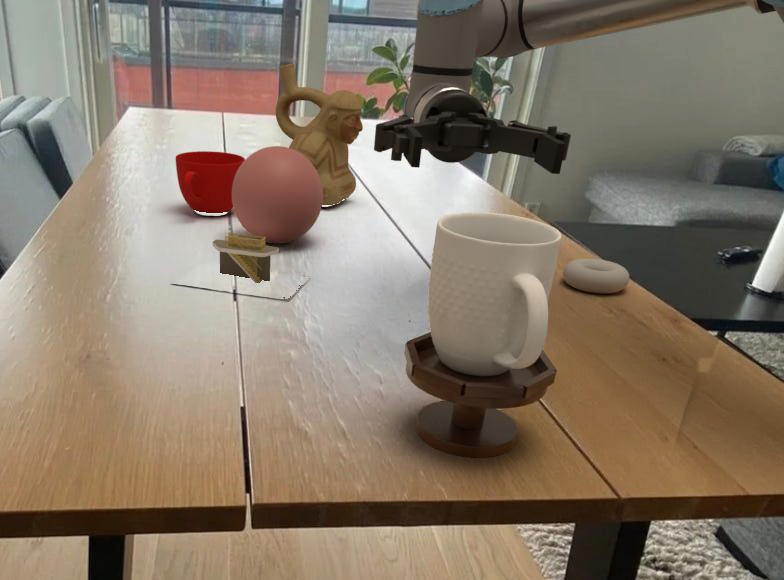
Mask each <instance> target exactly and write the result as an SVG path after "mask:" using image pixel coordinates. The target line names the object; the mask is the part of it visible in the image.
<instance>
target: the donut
mask: <svg viewBox="0 0 784 580" xmlns="http://www.w3.org/2000/svg"><path fill="white" fill-rule="evenodd" d="M562 277H563V280H564V281H565V283H566V284H567V285H569V286H571V287H572V288H574V289H576V290H579V291H583V292H586V293H592V294H602V295H603V294H604V295H605V294H615V293H618V292H619V293H620V292H621V291H622V290H624V289H626V288H627V286H628V285H629V281H630V273H629V271H628V270H627V269H626V268H625V267H624V266H623V265H620V264H619V263H616V262H614V261H610V260H605V259H599V258H590V257H589V258H585V257H584V258H576V259H573V260H571V261H568V263H566V264H565V266H564V268H563V271H562Z"/></svg>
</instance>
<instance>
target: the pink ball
mask: <svg viewBox="0 0 784 580" xmlns="http://www.w3.org/2000/svg"><path fill="white" fill-rule="evenodd" d="M322 202H323V189H322V183H321V180H320V177H319V175H318V172H317V170H316V169H315V167H314V166H313V164H312V163H311V162H310V161H309V160H308V159H307V158H306V157H305V156H304V155H302V154H301V153H299V152H298V151H296V150H293V149H291V148H289V147H286V146H282V145H273V146H266V147H263V148H260V149H258V150H256V151H254V152H253V153H251V154H250V155H249V156H247V157H246V158H245V161H244V162H243V163H242V164H241V166H240V167H239V169H238V170H237V172H236V175H235V177H234V180H233V185H232V204H233V208H232V209H233V211H234V214H235V216H236V218H237V220H238V222H239V223H240V225H241V226H242V228H244V230H245V231H247V233H249V234H250V235H251V236H252V237H253V236H258V237H266V238H265V243H269V242H270V244H287V243H290V242H293V241H296V240H298V239H300V238H301V237H303V236H304V235H305V234H307V232H309V231H310V230H311V229H312V228H313V226H314V225H315V223H316V222H317V220H318V218H319V216H320V214H321V211H322V208H321V207H322ZM258 237H256V239H258ZM262 239H263V238H261V240H262Z"/></svg>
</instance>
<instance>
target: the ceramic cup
mask: <svg viewBox="0 0 784 580" xmlns="http://www.w3.org/2000/svg"><path fill="white" fill-rule="evenodd" d="M245 159H246V158H245V157H244V156H243V155H239V154H235V153H230V152H224V151H223V152H222V151H213V150H212V151H206V150H205V151H204V150H203V151H202V150H201V151H198V150H197V151H187V152H182V153H178V154H176V156H175V168H176V177H177V183H178V187H179V191H180V193H181V195H182V198H183V200H184V202H186V204H187V205H188V206H189V208H190V209H191V210H192V209H193V210H196V211H199V212H206V213H223V212H228V211H229V212H231V210H232V209H234V208H233V204H232V185H233V180H234V177H235V175H236V172H237V170H238V169H239V167H240V166H241V164H242V163H243V162H244V161H245ZM193 210H192V211H193Z"/></svg>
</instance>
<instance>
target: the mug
mask: <svg viewBox="0 0 784 580" xmlns="http://www.w3.org/2000/svg"><path fill="white" fill-rule="evenodd" d="M562 236H563V235H562V233H561V232H560V230H559V229H557V228H556V227H554V226H552V225H550V224H548V223H544V222H543V221H539V220H536V219H532V218H528V217H523V216H518V215H513V214H506V213H497V212H483V211H482V212H481V211H480V212H479V211H475V212H458V213H451V214H448V215H444V216H442V217H440V218H439V219H438V220H437V222H436V228H435V236H434V243H433V247H432V255H431V256H432V257H431V258H432V259H431V263H430V265H431V266H430V269H429V282H428V297H427V300H428V306H427V308H428V310H427V311H428V317H429V318H428V322H429V330H430V332H431V336H432V340H433V344H434V346H435V349H436V352H437V354H438V356H439V358H440V360H441V361H442V363H443V364H444V365H446V366H447V367H448V368H450V369H452V370H454V371H456V372H459V373H463V374H467V375H473V376H495V375H499V374H502V373H504V372H506V371H507V370H509V369H510V368H511V369H521V368H525V367H528V366H530V365H532V364H533V363H534V362H535V361H536V360H537V359H538V357H539V356H540V354H541V352H542V349H543V350H544V347H545V343H546V339H547V334H548V328H549V327H548V326H549V304H548V301H549V297H550V294H551V290H552V287H553V281H554V278H555V272H556V270H557V269H556V267H557V263H558V258H559V253H560V249H561V248H560V247H561V244H562Z"/></svg>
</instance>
